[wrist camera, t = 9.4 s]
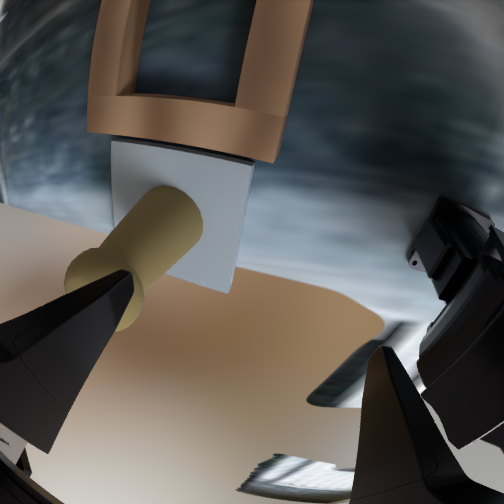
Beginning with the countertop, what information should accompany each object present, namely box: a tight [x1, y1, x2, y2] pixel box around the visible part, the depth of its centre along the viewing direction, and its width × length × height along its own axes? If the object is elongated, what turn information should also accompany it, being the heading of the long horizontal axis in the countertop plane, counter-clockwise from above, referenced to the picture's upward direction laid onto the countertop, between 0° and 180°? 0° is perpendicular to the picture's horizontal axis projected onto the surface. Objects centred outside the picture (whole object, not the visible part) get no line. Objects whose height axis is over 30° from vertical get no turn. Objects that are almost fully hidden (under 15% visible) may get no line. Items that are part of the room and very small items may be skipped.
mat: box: [111, 138, 255, 294], centre depth 23 cm, size 12×12×1 cm
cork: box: [64, 185, 203, 332], centre depth 18 cm, size 6×6×11 cm
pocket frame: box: [87, 0, 314, 163], centre depth 14 cm, size 15×15×2 cm
